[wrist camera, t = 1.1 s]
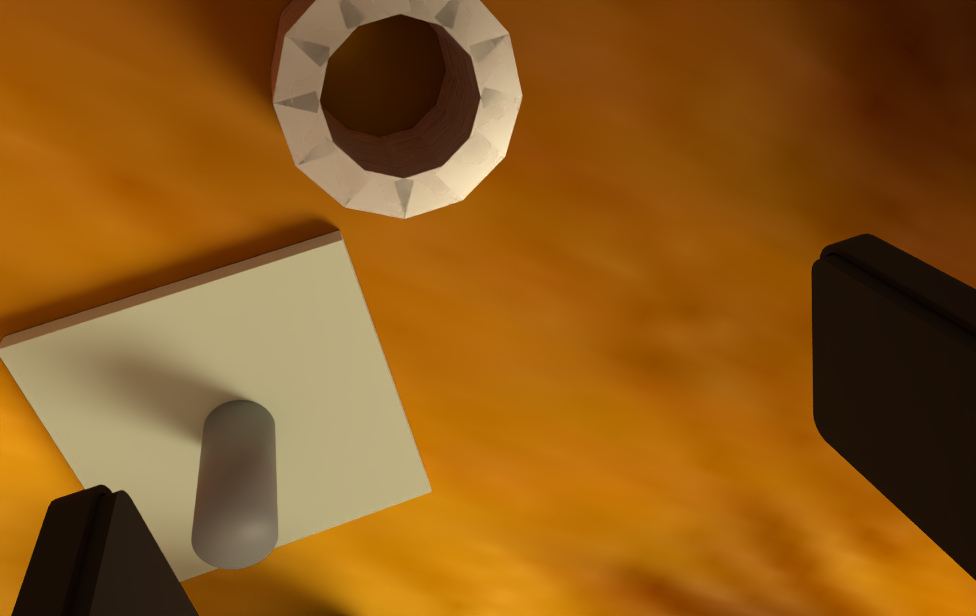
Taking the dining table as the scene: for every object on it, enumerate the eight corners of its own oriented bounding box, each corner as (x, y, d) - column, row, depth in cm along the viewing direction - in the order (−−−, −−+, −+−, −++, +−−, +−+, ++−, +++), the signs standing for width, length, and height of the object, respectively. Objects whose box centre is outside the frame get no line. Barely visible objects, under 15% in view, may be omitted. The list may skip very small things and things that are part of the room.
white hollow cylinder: (450, -67, 26) (489, -62, 21) (497, 135, 29) (539, 175, 24) (241, -9, 25) (237, 8, 20) (314, 192, 28) (324, 244, 24)
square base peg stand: (340, 230, 29) (361, 315, 23) (427, 476, 35) (463, 597, 29) (4, 336, 28) (-68, 456, 21) (153, 574, 33) (130, 722, 27)
